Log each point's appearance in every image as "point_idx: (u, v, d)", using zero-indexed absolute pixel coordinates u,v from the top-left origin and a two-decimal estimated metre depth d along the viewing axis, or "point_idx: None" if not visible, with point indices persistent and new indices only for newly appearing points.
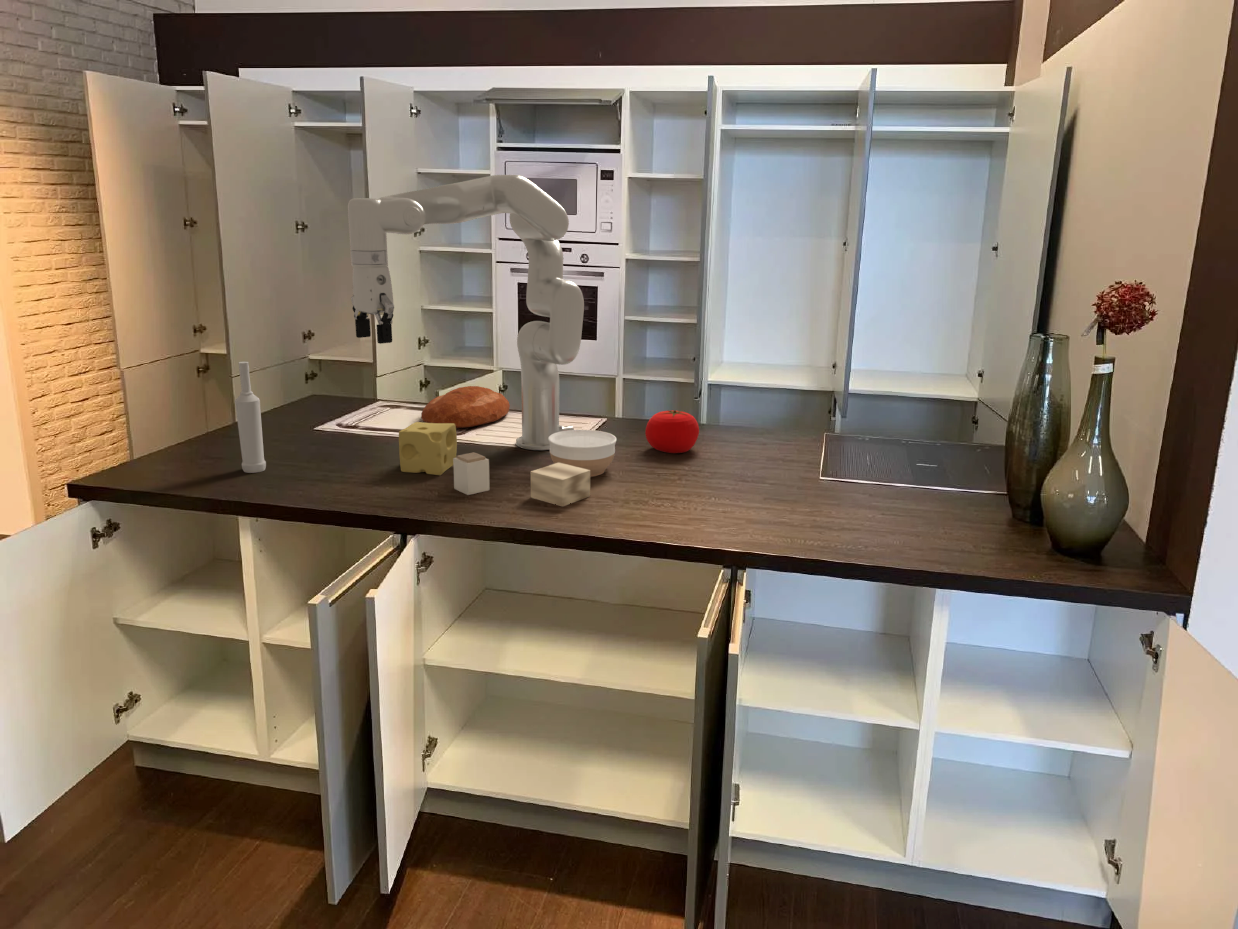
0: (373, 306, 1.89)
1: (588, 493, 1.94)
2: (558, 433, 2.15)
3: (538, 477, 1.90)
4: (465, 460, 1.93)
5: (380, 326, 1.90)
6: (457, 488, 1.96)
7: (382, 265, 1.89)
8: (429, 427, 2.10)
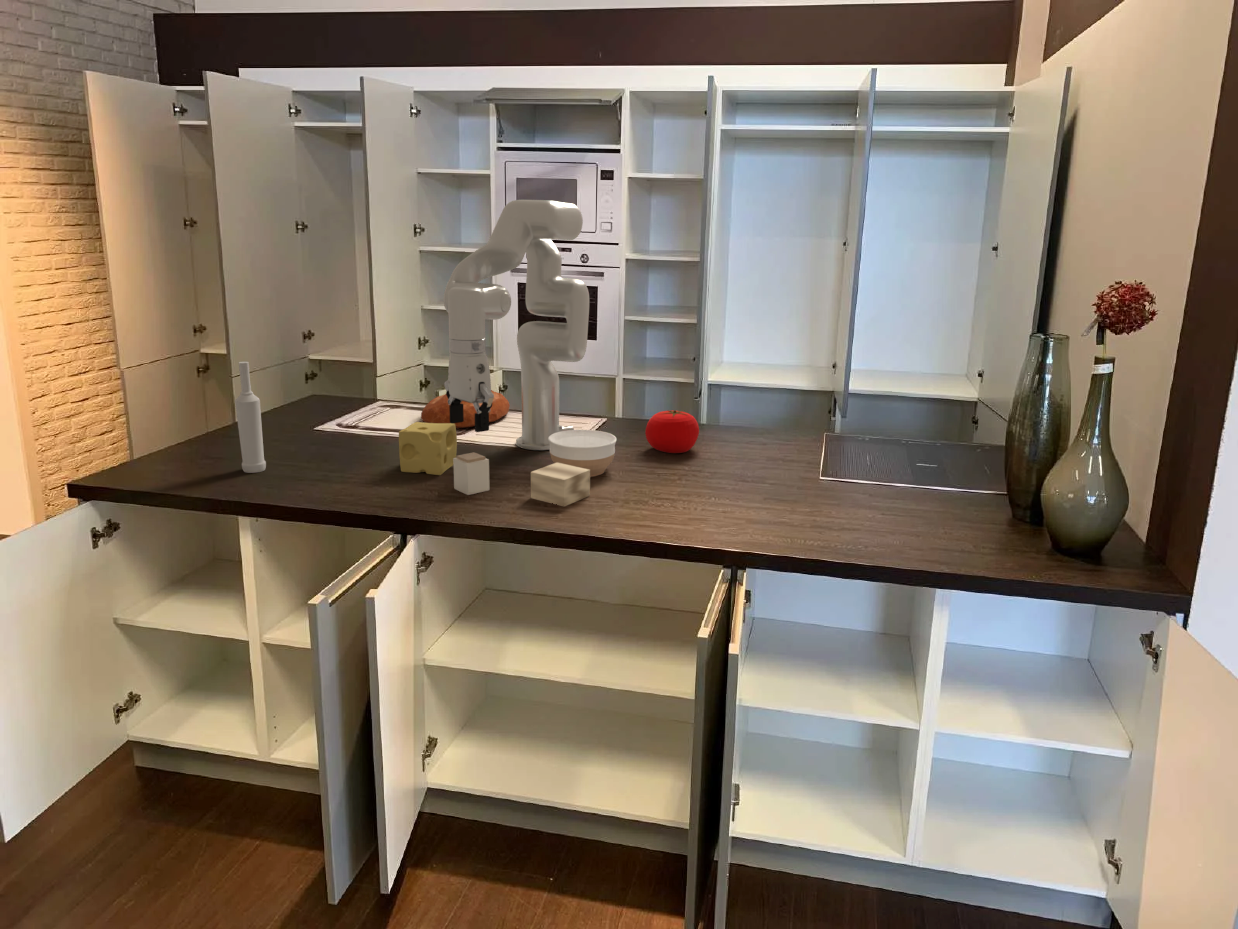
0: (472, 395, 1.86)
1: (588, 493, 1.94)
2: (558, 433, 2.15)
3: (538, 477, 1.90)
4: (465, 460, 1.93)
5: (478, 415, 1.88)
6: (457, 488, 1.96)
7: (481, 354, 1.87)
8: (429, 427, 2.10)
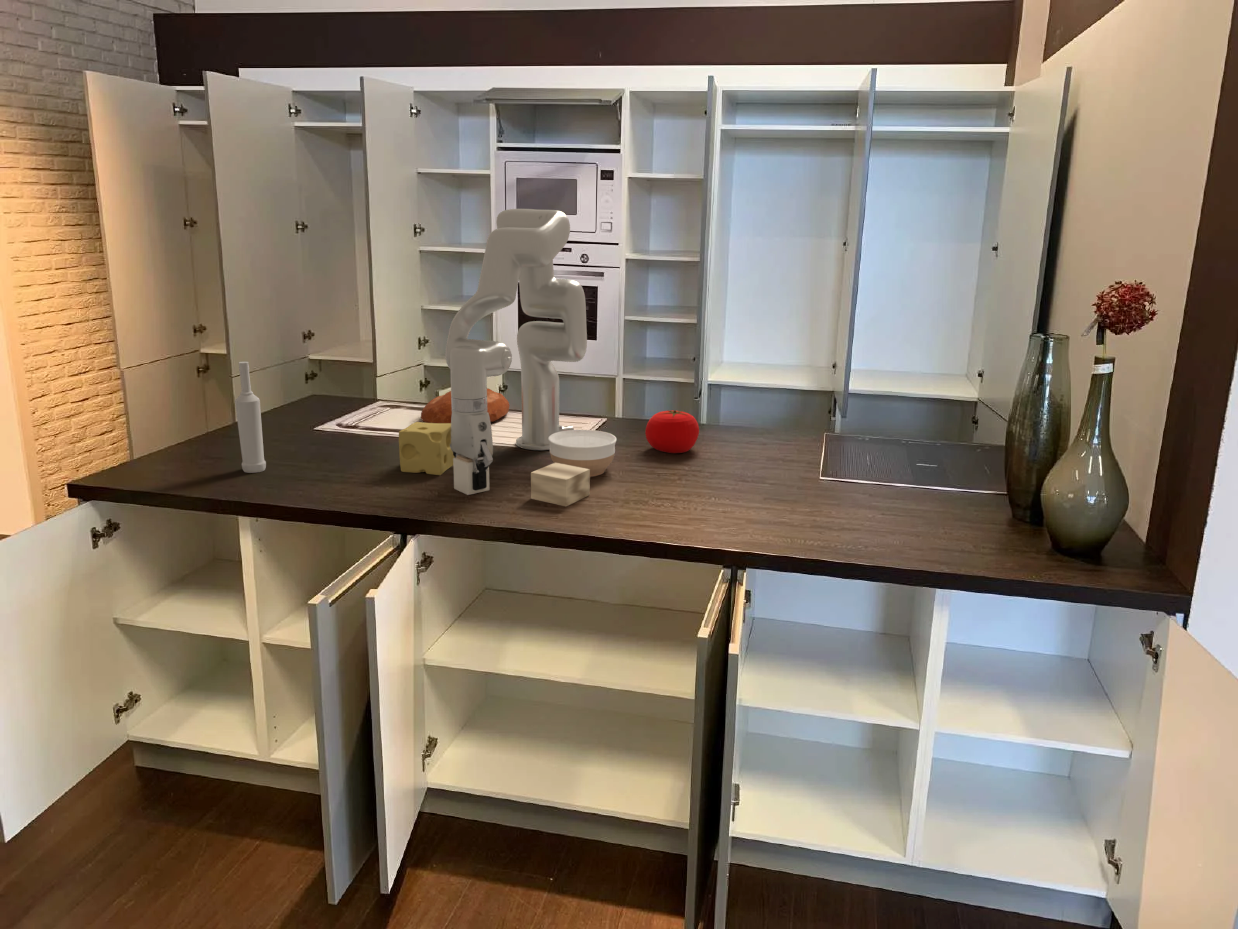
0: (474, 452, 1.90)
1: (587, 492, 1.94)
2: (558, 433, 2.15)
3: (539, 478, 1.90)
4: (465, 460, 1.93)
5: (476, 474, 1.93)
6: (457, 488, 1.96)
7: (483, 412, 1.90)
8: (429, 427, 2.10)
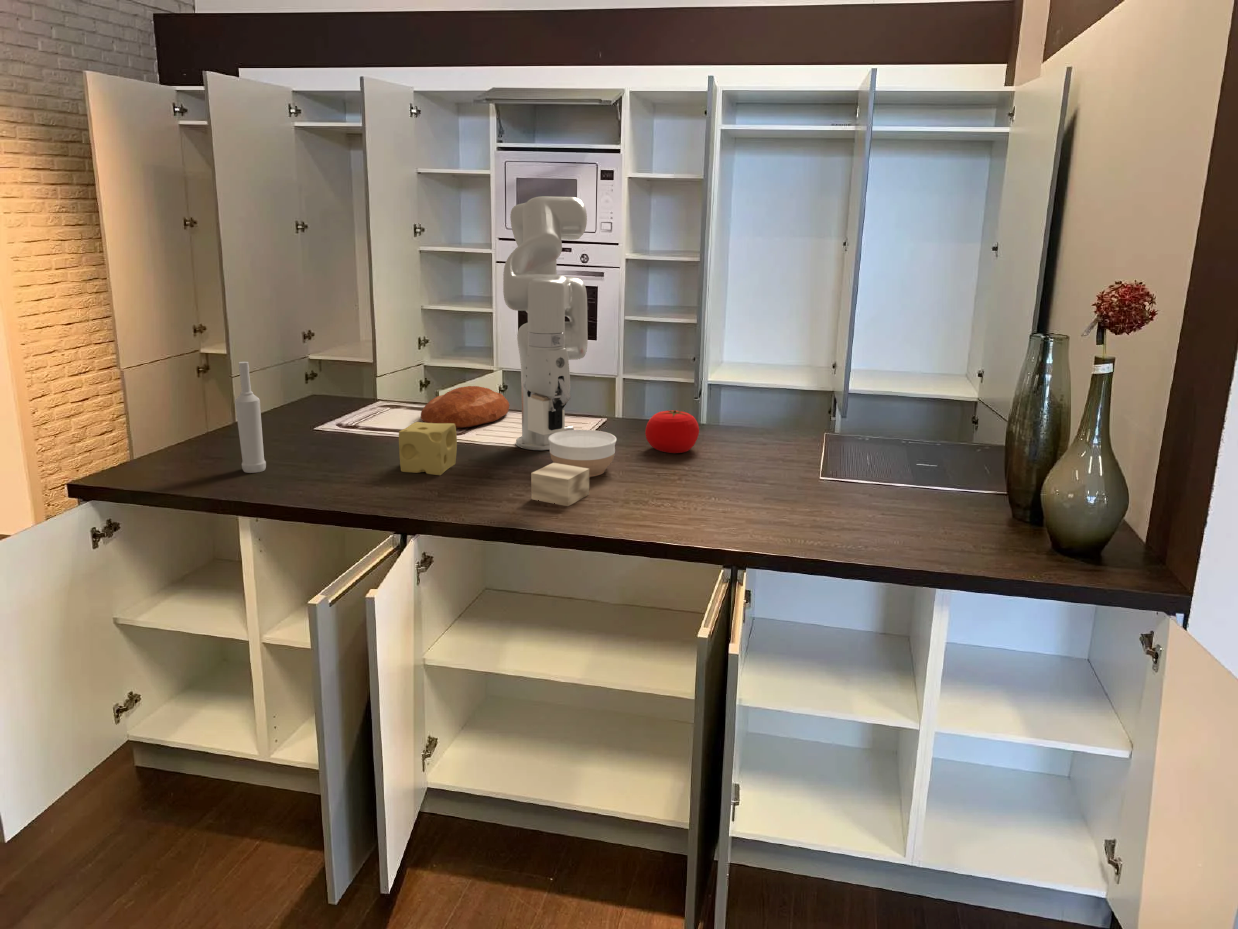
0: (551, 390, 1.83)
1: (587, 491, 1.95)
2: (558, 433, 2.15)
3: (539, 478, 1.89)
4: (540, 398, 1.86)
5: (552, 413, 1.86)
6: (531, 428, 1.89)
7: (560, 347, 1.83)
8: (429, 427, 2.10)
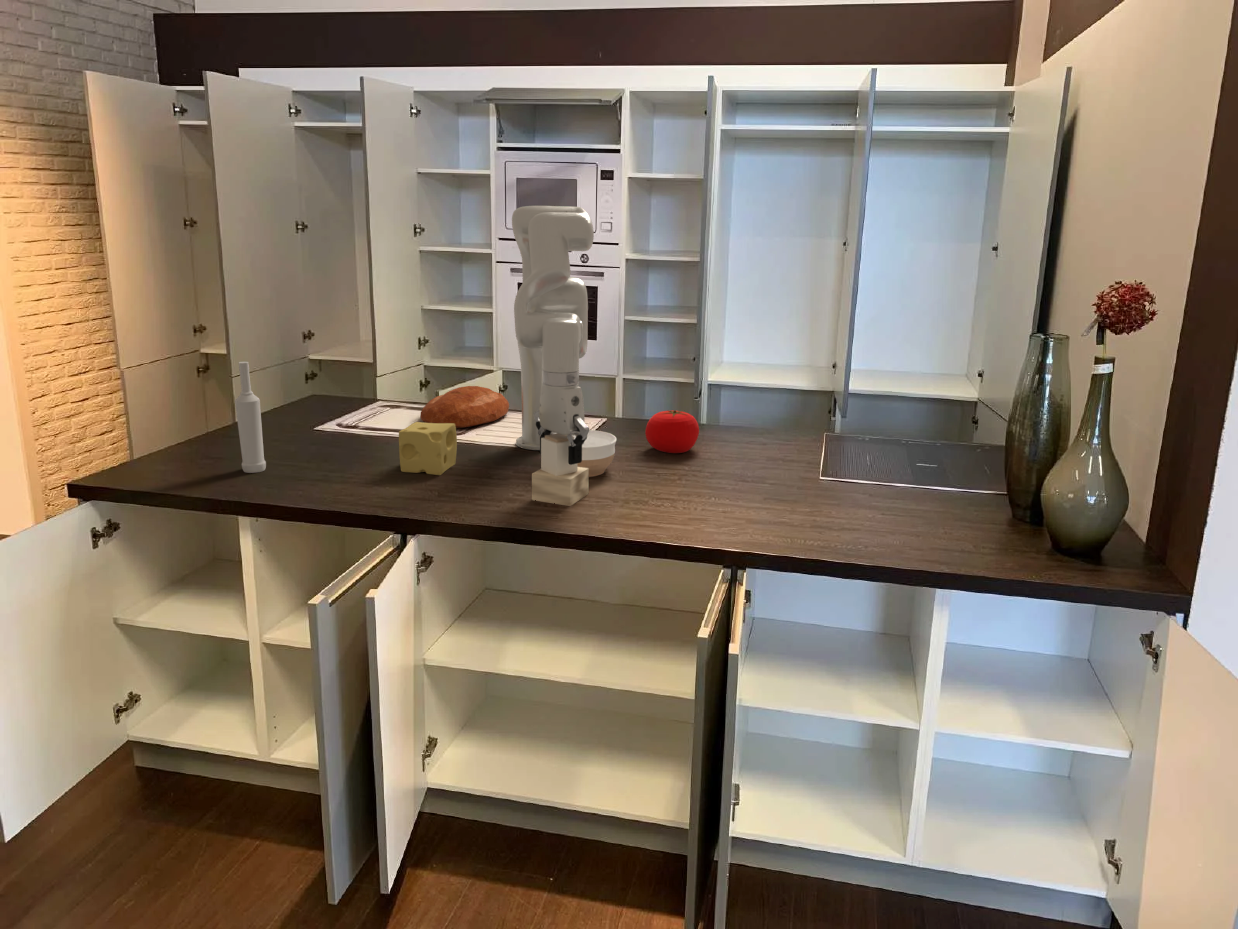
0: (566, 428, 1.85)
1: (587, 491, 1.95)
2: None
3: (540, 479, 1.89)
4: (554, 440, 1.88)
5: (572, 447, 1.86)
6: (544, 469, 1.91)
7: (575, 386, 1.85)
8: (429, 427, 2.10)
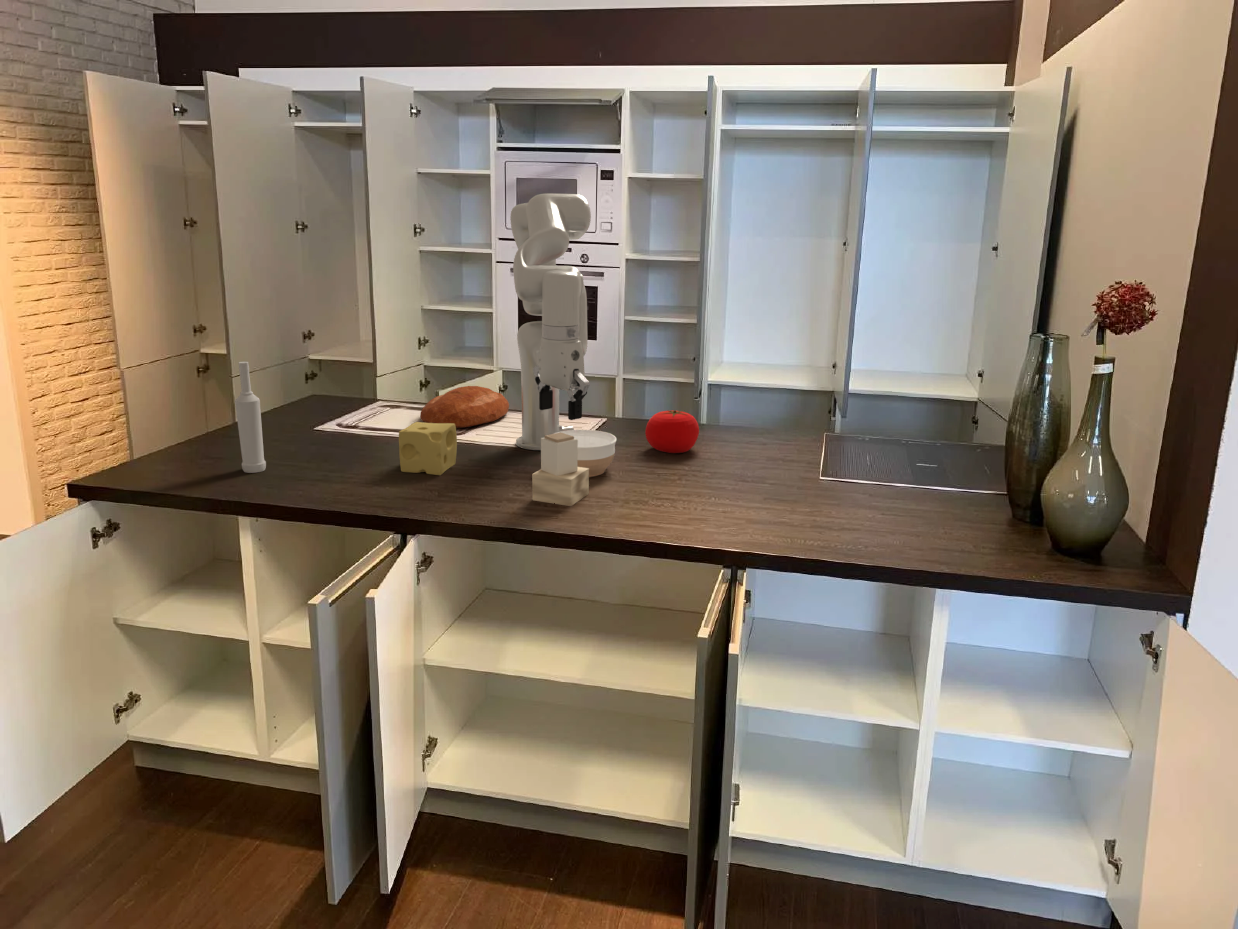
0: (566, 383, 1.82)
1: (587, 491, 1.95)
2: None
3: (541, 479, 1.89)
4: (554, 440, 1.88)
5: (572, 402, 1.84)
6: (544, 469, 1.92)
7: (575, 340, 1.82)
8: (429, 427, 2.10)
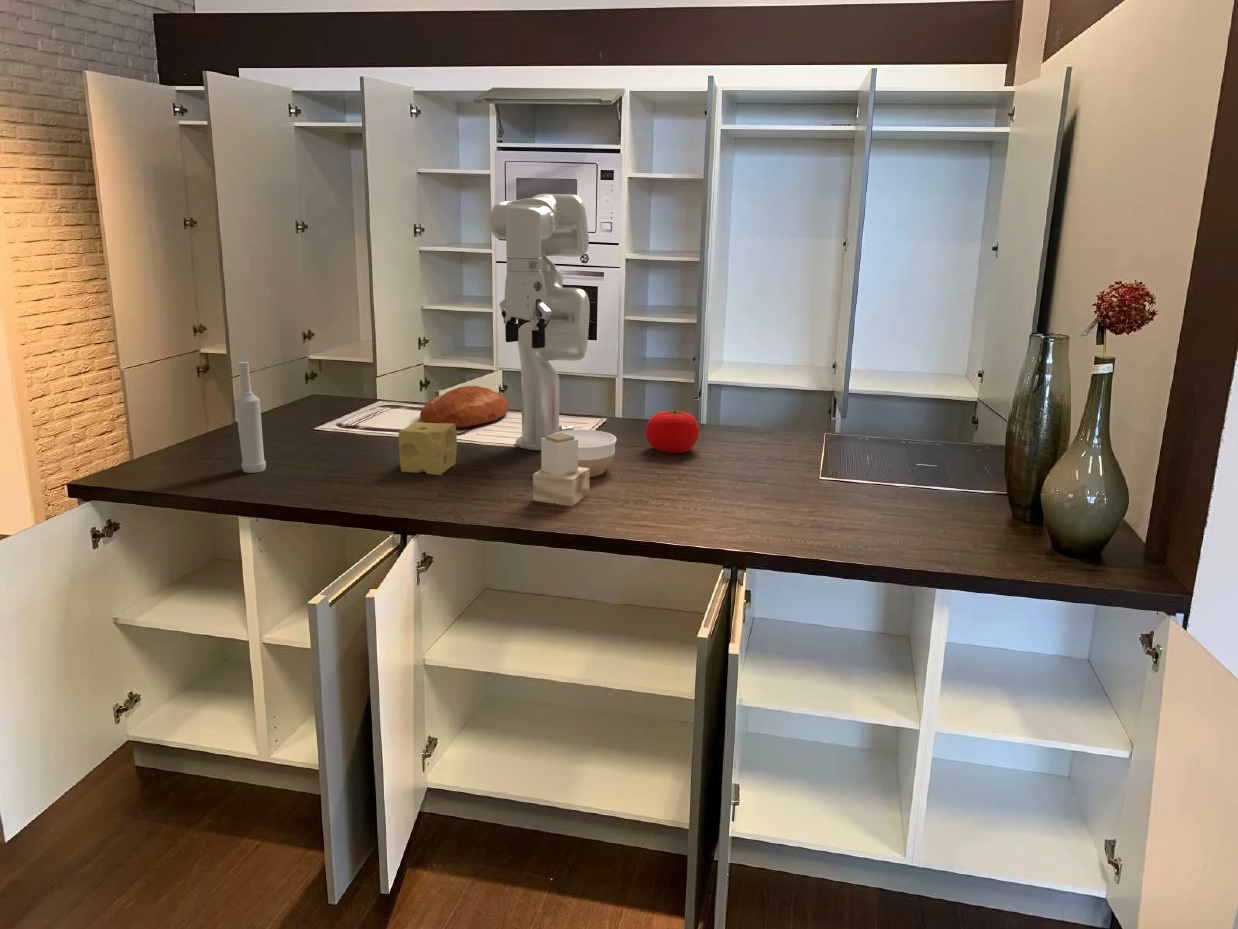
0: (529, 312, 1.94)
1: (588, 491, 1.95)
2: None
3: (542, 479, 1.89)
4: (555, 440, 1.88)
5: (535, 331, 1.95)
6: (545, 469, 1.91)
7: (538, 272, 1.94)
8: (429, 427, 2.10)
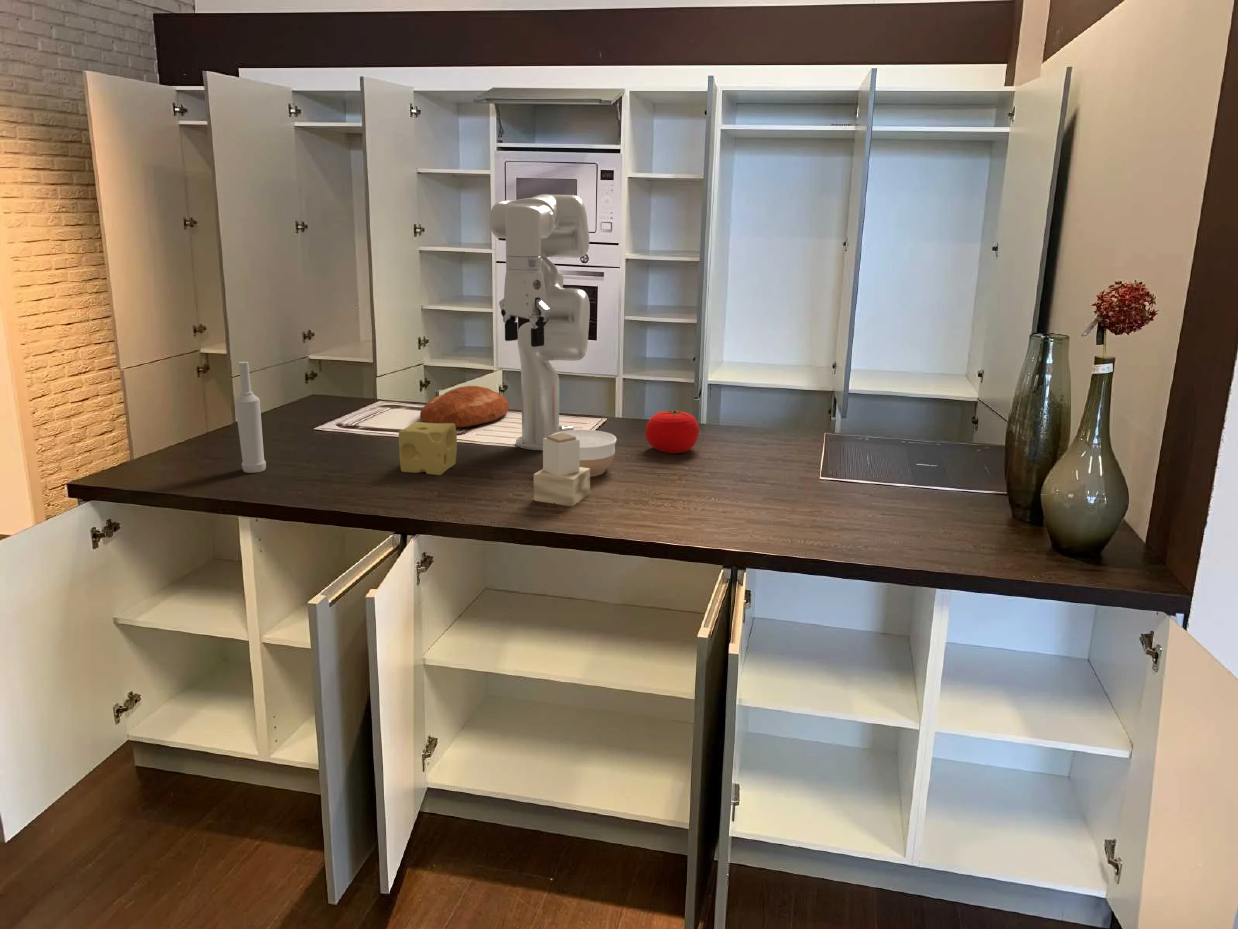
0: (528, 310, 1.94)
1: (588, 491, 1.95)
2: (558, 433, 2.15)
3: (542, 479, 1.89)
4: (556, 440, 1.88)
5: (534, 330, 1.95)
6: (546, 469, 1.91)
7: (537, 270, 1.94)
8: (429, 427, 2.10)
